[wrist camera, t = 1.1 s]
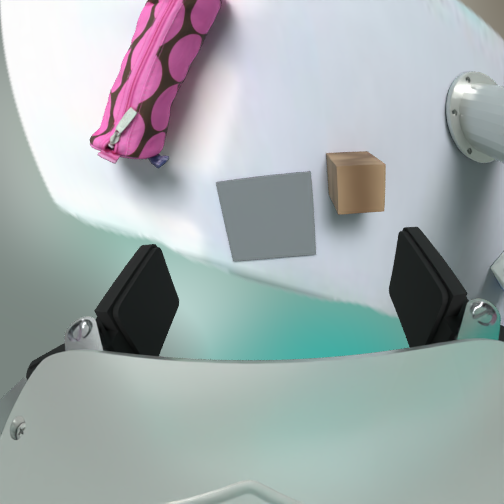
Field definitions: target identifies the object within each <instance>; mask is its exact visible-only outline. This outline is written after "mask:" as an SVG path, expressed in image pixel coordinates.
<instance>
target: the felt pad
mask: <svg viewBox="0 0 504 504" xmlns="http://www.w3.org/2000/svg"><path fill="white" fill-rule="evenodd" d="M216 186H217V190H218V195H219V200H220V204H221V209H222V213H223V218H224V223H225V227H226V232H227V236H228V240H229V245H230V249H231V254H232V258H233V261H244V260H256V259H268V258H280V257H291V256H303V255H314V254H316V245H315V224H314V207H313V193H312V180H311V172H310V171H308V172H296V173H286V174H276V175H267V176H258V177H250V178H242V179H235V180H227V181H220V182H217V183H216Z"/></svg>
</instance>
